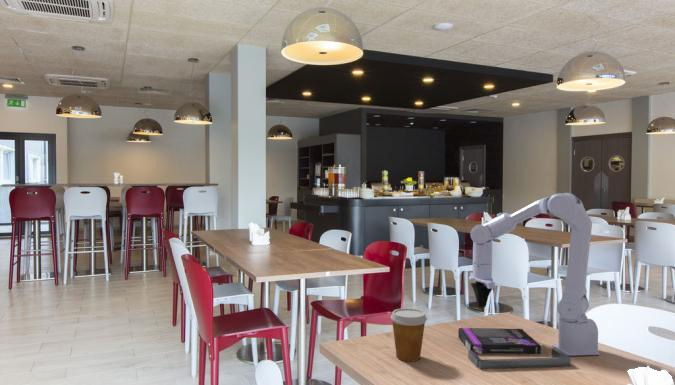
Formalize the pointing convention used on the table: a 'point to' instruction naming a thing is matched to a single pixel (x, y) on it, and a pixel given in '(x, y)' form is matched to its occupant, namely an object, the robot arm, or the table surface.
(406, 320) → the disposable coffee cup
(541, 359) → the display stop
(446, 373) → the table surface
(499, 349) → the box
